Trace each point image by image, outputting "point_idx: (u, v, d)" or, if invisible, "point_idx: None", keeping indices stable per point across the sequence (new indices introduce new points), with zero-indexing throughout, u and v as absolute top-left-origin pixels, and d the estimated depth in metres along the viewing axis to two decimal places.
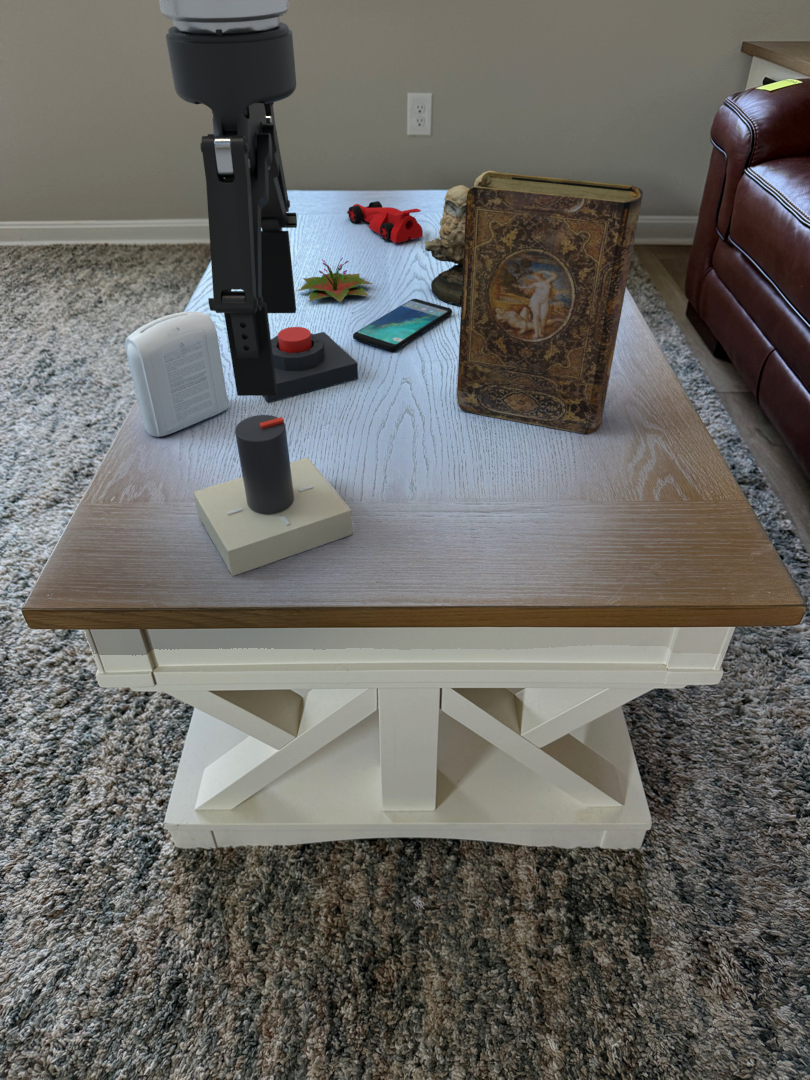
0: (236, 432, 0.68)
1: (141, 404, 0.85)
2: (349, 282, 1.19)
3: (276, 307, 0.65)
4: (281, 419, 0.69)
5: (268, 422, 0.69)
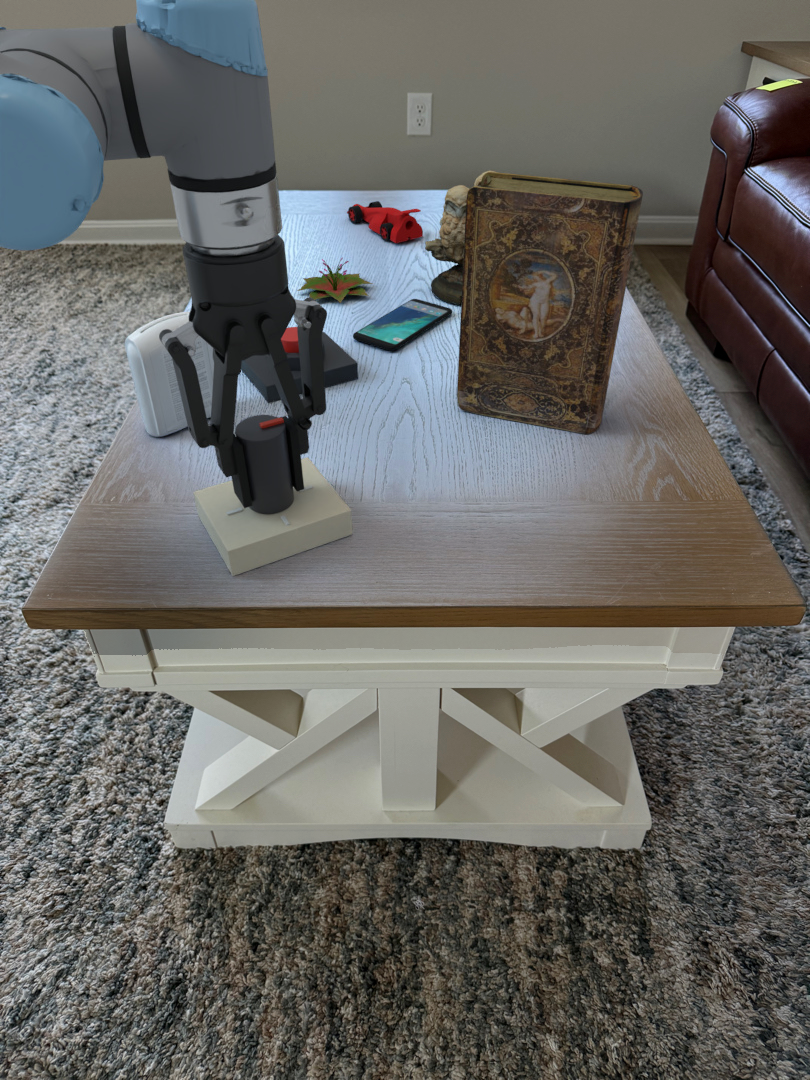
0: (236, 432, 0.68)
1: (141, 404, 0.85)
2: (349, 282, 1.19)
3: None
4: (281, 419, 0.69)
5: (268, 422, 0.69)
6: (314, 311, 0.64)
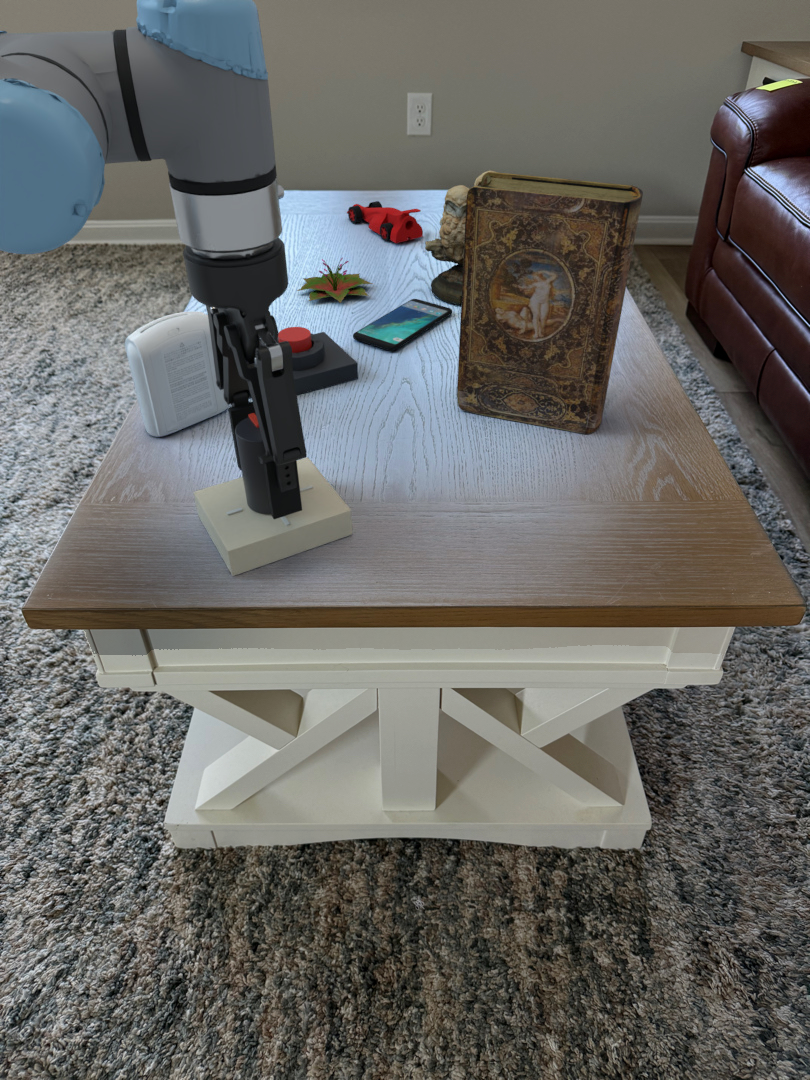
0: None
1: (141, 404, 0.85)
2: (349, 282, 1.19)
3: None
4: (253, 414, 0.70)
5: (256, 420, 0.69)
6: None
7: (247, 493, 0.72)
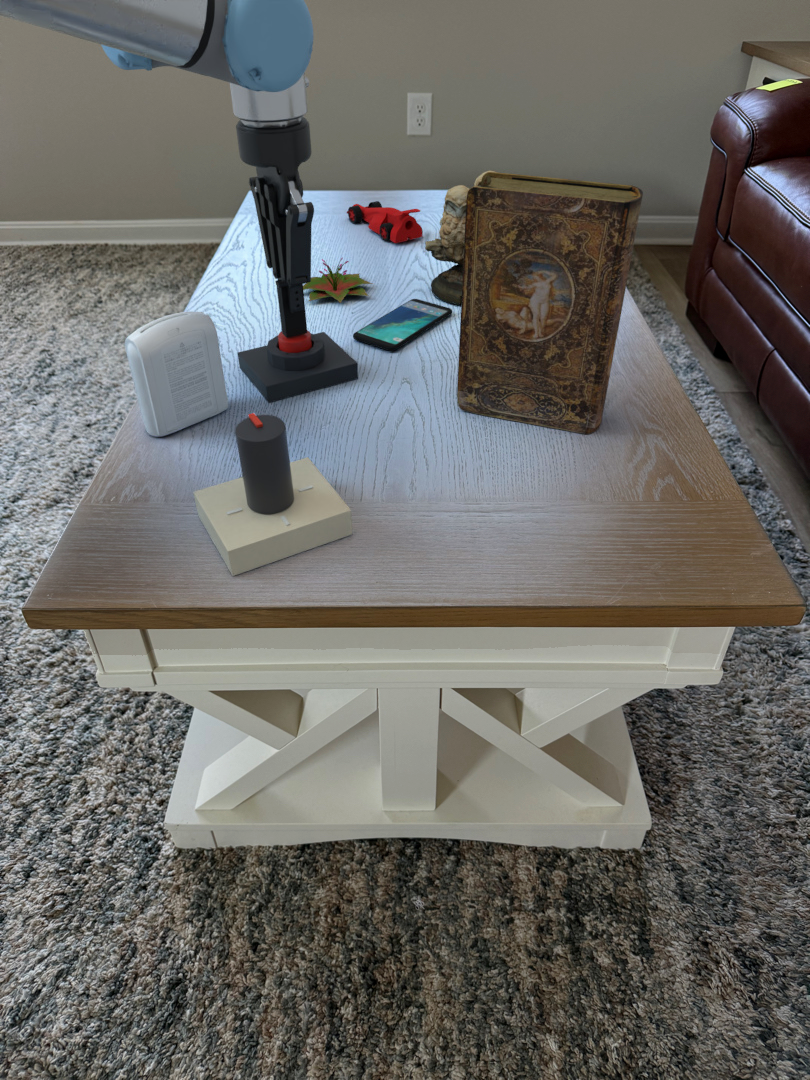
0: (265, 440, 0.67)
1: (141, 404, 0.85)
2: (349, 282, 1.19)
3: None
4: (253, 414, 0.70)
5: (256, 420, 0.69)
6: None
7: (247, 493, 0.72)
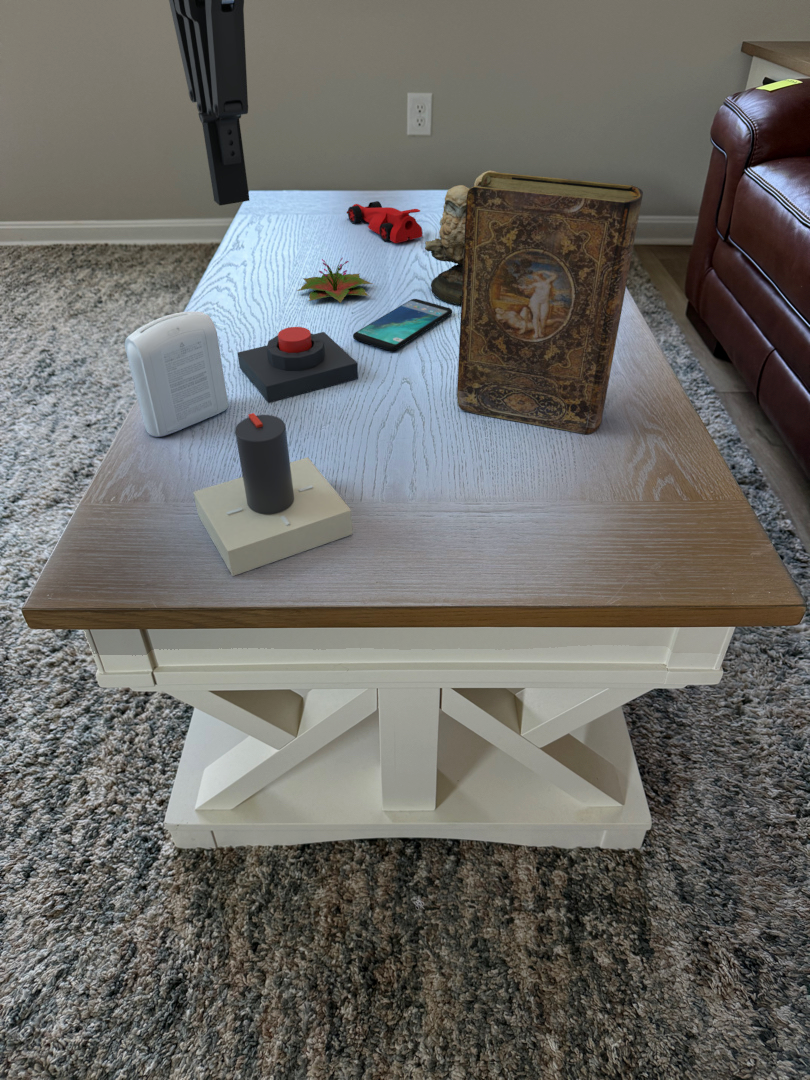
0: (265, 440, 0.67)
1: (141, 404, 0.85)
2: (349, 282, 1.19)
3: None
4: (253, 414, 0.70)
5: (256, 420, 0.69)
6: None
7: (247, 493, 0.72)
